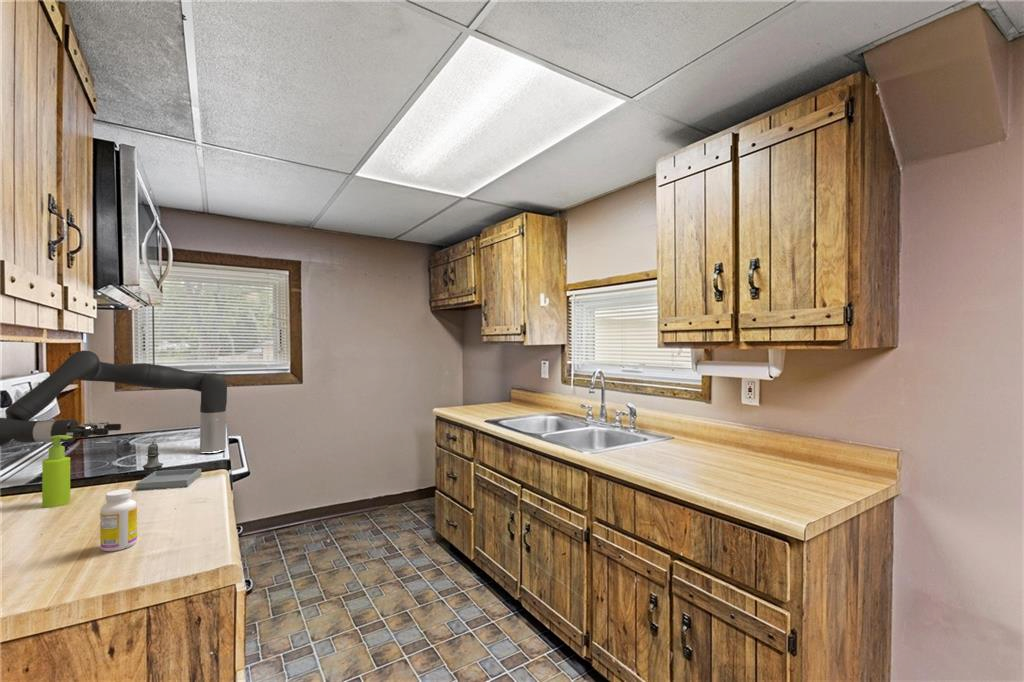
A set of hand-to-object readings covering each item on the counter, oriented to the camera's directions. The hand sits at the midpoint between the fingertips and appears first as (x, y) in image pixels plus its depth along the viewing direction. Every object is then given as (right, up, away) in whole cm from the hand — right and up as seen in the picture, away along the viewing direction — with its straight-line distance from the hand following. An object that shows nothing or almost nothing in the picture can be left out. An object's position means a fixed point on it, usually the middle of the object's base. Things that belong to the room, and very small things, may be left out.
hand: (114, 429), depth 164 cm
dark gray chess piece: (+11, -17, +4) cm, 20 cm away
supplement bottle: (+44, -18, -52) cm, 71 cm away
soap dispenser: (+5, -17, -25) cm, 31 cm away
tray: (+22, -17, -4) cm, 29 cm away
